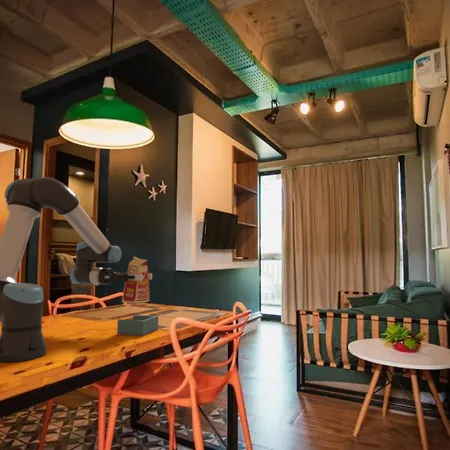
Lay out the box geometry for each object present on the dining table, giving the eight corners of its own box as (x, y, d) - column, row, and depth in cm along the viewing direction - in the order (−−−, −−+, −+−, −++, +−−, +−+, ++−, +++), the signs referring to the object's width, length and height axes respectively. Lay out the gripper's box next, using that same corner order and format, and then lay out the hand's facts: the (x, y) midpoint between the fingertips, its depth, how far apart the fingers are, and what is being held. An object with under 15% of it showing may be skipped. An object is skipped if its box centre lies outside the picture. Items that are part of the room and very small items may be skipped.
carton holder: (158, 329, 158) (158, 316, 158) (143, 336, 145) (143, 321, 146) (134, 328, 161) (134, 314, 162) (117, 334, 148) (117, 319, 149)
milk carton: (121, 302, 153) (123, 256, 155) (135, 300, 161) (137, 256, 163) (137, 303, 149) (139, 256, 151) (151, 301, 157) (152, 256, 159)
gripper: (115, 283, 170) (157, 283, 164) (87, 286, 151) (134, 287, 144) (115, 267, 171) (158, 267, 165) (88, 268, 151) (135, 268, 145)
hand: (147, 276), depth 155 cm, fingers closed on milk carton, 8 cm apart
